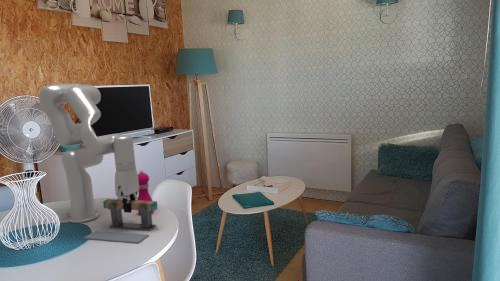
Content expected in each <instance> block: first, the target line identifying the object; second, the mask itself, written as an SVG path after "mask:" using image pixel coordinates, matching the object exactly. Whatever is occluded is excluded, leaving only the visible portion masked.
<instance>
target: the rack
mask: <svg viewBox="0 0 500 281" xmlns="http://www.w3.org/2000/svg"><path fill="white" fill-rule="evenodd" d="M107 210H109V211H110V216H111V224H110V225H109V226H108V228H109V229H120V230H121V229H122V230H123V229H124V230H134V231H146V230H147V231H148V232H149V231H152V230H153V229H155V228H156V225H157V224H153V219H152V218H153V216H152V214H151V211H146V207H145V206H138V210H137V211H140V214H141V215H140V221H141V223H136V222H124V218H123V212H122V210H123V209H116V207H115V205H111V204H109V205H108V209H107ZM154 227H155V228H154ZM151 229H152V230H151Z"/></svg>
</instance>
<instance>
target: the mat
mask: <svg viewBox="0 0 500 281" xmlns="http://www.w3.org/2000/svg"><path fill="white" fill-rule="evenodd" d="M149 236H150V235H149V234H146V233H134V232H132V233H130V232H120V231H119V232H117V231H108V230H107V231H106V230H95V231H93V232H91V233H89V234H88V235H86V236H84V237H83V240H87V241H88V240H89V241H90V240H91V241H103V242H113V243H114V242H115V243H124V244H137V245H138V244H140V243H141V242H143V241H144V240H145V239H147V238H148V237H149Z"/></svg>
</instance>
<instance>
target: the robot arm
mask: <svg viewBox="0 0 500 281" xmlns="http://www.w3.org/2000/svg"><path fill="white" fill-rule="evenodd" d="M101 98H102V95H101V92H100V90H99V89H98V88H97V87H96V86H94V85H91V84H82V83H57V84H54V83H53V84H47V85H45V86H43V87H42V88H41V89H40V91H39V97H38V99H39V104H40V106H41V108H42V110H43V112H44V114H45V115H46V117H47V118H48V120H49V122H50V125H51V128H52V130H53V132H54V136H55V137H56V139H57V141H58V143H59V145H60V146H61V147H63V148H68V147H69V149H67V150H65V152H63V153H62V156H61V162H62V166H63V169H64V172H65V176H66V181H67V187H68V188H67V189H68V195H69V202H70V207H68V208H67V210H66V211H65V214H69V217H68V222H70V223H74V224H79V223H80V224H81V223H87V222H90V221H94V220H96V219H98V218H99V217H100V212H99V211H97V210H96V207H95V198H94V192H93V184H92V178H91V175H90V174H89V173H88V172H87V170H86V169H87V168H91V167H96V166H98V165H100V164H101V163H102V162H103V160H104V156H106V155H109V154H114V164H115V173H114V191H115V192H114V193H115V195H116V197H117V198H116V199H118V200H121V201H122V203H123V207H124V209H123V212H124V213H127V214H128V213H132V212H133V210H131V203H129V200H137V199H138V194H139V180H138V171H137V167H136V166H137V165H136V157H135V149H134V148H135V147H134V139H133V137H132V136H131V135H130V134H123V135H122V134H119V133H112V134H106V135H100V136H99V135H98V136H97V134H96V132H95V130H94V128H93V127H92V125H94V124H95V123H96V122H97V121H98V120H99V119H100V118H101V116H102V113H101V111H100V109H99V108H98V106H97V105H98V104H99V103H100V101H101ZM63 104H68V105H69V106H70V108H71V109H72V111H73V112H74V113H75V115H76V117H77V118H78V119H79V121H80V122H79V123H75V122H74V120H73V119H72V116H71V114H70V112H69V111H68V110H67V109H66V108H65V107H63V106H62V105H63ZM80 145H81V146H80ZM75 146H79V147H75ZM70 147H73V148H70Z"/></svg>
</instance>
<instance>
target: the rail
mask: <svg viewBox="0 0 500 281" xmlns="http://www.w3.org/2000/svg"><path fill="white" fill-rule="evenodd" d="M102 203H103V209H107V210H109V209H108V205H109V204H111V205H115V207H116V209H121V210H124V207H123V203H122V201H121V200H118V199H117V198H114V199H113V198H112V199H111V198H107V199H106V200H103V201H102ZM129 203H131V210H132V211H138V206H145V207H146V211H153V212H155V211H156V210H158V201H156V200H152V201H140V200H137V199H135V200H129Z"/></svg>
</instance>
